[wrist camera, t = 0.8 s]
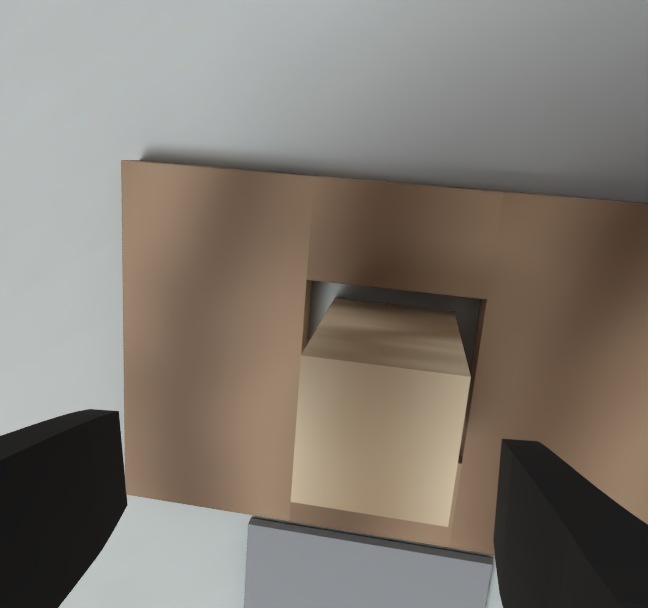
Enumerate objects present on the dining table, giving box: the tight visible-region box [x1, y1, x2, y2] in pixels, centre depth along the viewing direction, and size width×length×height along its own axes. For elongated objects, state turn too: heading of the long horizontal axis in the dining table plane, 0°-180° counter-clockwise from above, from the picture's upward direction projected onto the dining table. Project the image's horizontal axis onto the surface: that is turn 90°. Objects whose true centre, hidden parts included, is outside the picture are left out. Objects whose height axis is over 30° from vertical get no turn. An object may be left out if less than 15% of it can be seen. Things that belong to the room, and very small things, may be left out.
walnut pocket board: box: [121, 160, 648, 555], centre depth 19 cm, size 18×12×1 cm, turn 86°
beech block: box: [291, 298, 471, 527], centre depth 17 cm, size 4×4×6 cm
